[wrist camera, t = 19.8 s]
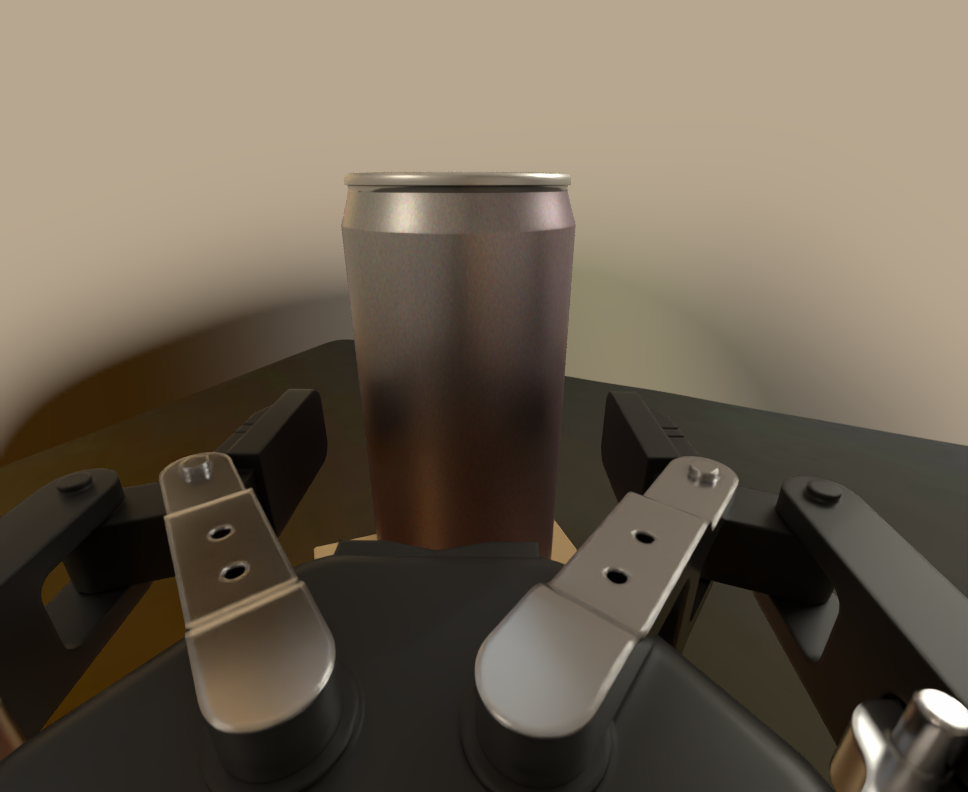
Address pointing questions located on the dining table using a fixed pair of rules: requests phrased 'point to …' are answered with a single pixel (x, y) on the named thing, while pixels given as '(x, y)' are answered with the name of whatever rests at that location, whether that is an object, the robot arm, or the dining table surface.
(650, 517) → the robot arm
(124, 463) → the dining table surface
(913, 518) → the dining table surface
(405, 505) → the beverage can
